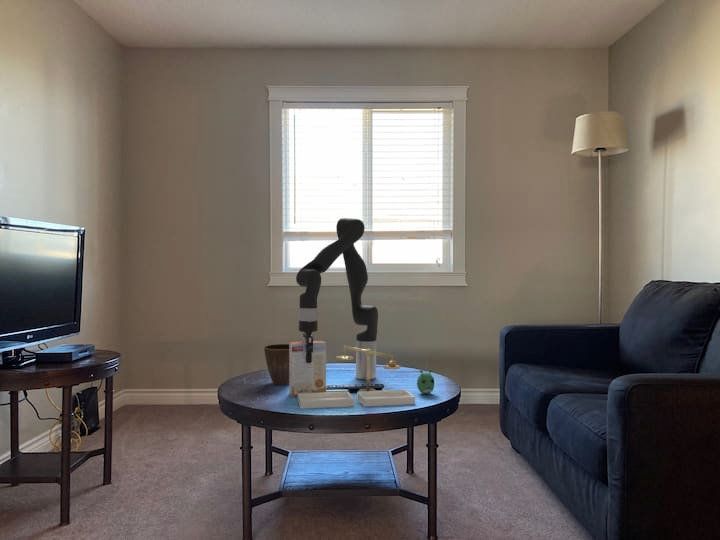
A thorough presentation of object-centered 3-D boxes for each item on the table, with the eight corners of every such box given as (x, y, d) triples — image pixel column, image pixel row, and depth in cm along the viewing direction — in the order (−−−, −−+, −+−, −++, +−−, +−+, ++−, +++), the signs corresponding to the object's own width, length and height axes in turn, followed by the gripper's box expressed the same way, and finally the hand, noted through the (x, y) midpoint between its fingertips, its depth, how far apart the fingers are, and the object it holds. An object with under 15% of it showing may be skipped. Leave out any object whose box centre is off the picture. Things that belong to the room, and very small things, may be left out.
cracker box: (322, 391, 213) (322, 340, 212) (326, 394, 207) (327, 342, 207) (288, 393, 208) (289, 341, 208) (291, 397, 202) (292, 343, 202)
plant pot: (274, 389, 215) (275, 350, 215) (257, 382, 227) (257, 345, 227) (305, 384, 225) (305, 347, 225) (286, 378, 236) (287, 343, 236)
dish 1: (297, 400, 197) (297, 393, 197) (348, 398, 202) (348, 391, 202) (300, 408, 186) (300, 401, 186) (354, 406, 190) (354, 398, 190)
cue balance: (334, 393, 209) (334, 344, 209) (397, 390, 215) (398, 343, 215) (337, 397, 202) (337, 347, 202) (402, 394, 208) (403, 345, 208)
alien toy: (420, 396, 205) (421, 371, 205) (414, 392, 213) (414, 367, 213) (437, 396, 207) (437, 371, 207) (430, 391, 214) (430, 367, 214)
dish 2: (357, 398, 201) (357, 391, 201) (405, 396, 206) (405, 389, 205) (363, 406, 190) (363, 399, 190) (415, 404, 194) (415, 396, 194)
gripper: (297, 317, 213) (296, 358, 213) (300, 321, 199) (300, 364, 199) (315, 317, 215) (314, 357, 215) (320, 321, 201) (319, 364, 201)
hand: (307, 361), depth 207 cm, fingers closed on cracker box, 6 cm apart
